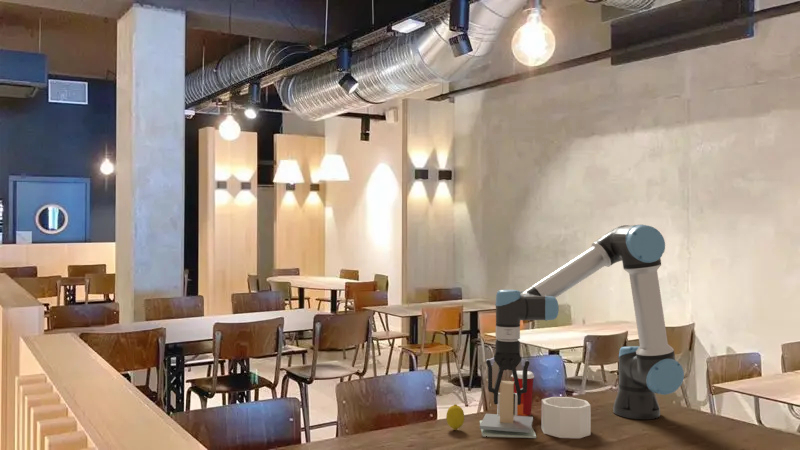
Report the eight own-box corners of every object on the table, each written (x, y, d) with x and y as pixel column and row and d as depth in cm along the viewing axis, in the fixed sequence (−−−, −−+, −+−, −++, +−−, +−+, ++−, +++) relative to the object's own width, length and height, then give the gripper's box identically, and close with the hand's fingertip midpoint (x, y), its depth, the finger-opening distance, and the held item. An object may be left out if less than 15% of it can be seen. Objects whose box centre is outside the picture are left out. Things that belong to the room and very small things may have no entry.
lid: (533, 420, 221) (533, 379, 221) (530, 432, 206) (530, 388, 206) (485, 416, 224) (486, 376, 225) (479, 429, 210) (480, 385, 210)
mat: (529, 423, 224) (529, 421, 224) (536, 438, 208) (536, 436, 208) (479, 422, 225) (479, 420, 225) (482, 436, 209) (482, 434, 209)
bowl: (584, 425, 221) (584, 397, 222) (593, 438, 207) (593, 408, 208) (539, 424, 222) (539, 396, 222) (545, 437, 208) (546, 407, 208)
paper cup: (533, 411, 239) (533, 370, 239) (535, 417, 231) (535, 375, 232) (509, 410, 240) (510, 369, 240) (511, 416, 232) (511, 374, 232)
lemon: (452, 433, 211) (452, 407, 211) (442, 429, 216) (443, 403, 216) (467, 431, 214) (467, 405, 214) (458, 426, 219) (458, 401, 219)
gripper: (479, 340, 213) (479, 417, 213) (537, 342, 212) (537, 418, 212) (478, 337, 221) (478, 411, 220) (534, 338, 220) (534, 412, 219)
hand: (507, 414), depth 216 cm, fingers closed on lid, 4 cm apart
